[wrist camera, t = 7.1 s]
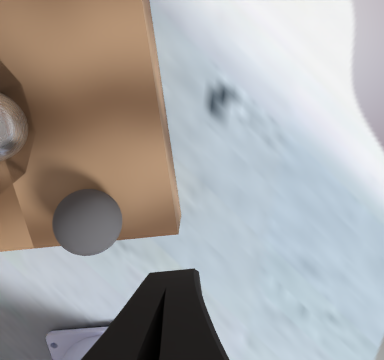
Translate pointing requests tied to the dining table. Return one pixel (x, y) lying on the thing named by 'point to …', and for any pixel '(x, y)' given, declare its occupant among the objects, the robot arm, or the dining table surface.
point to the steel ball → (11, 127)
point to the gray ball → (87, 222)
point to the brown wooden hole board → (84, 117)
